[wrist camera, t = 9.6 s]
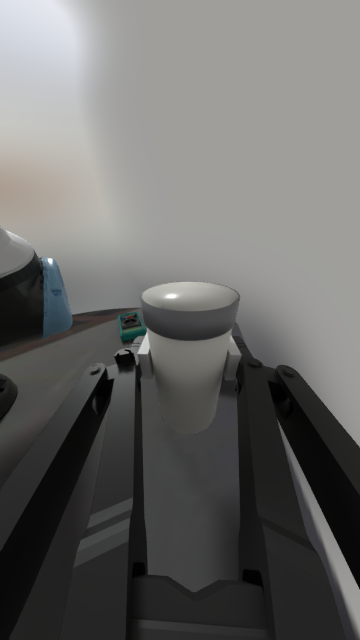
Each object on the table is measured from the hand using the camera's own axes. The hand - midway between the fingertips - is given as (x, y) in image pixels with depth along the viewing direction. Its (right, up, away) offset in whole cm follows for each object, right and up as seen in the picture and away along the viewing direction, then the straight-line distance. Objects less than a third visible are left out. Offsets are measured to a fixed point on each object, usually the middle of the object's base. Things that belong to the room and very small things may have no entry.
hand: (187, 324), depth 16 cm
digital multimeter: (-17, -3, +30) cm, 34 cm away
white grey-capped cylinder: (0, -8, -1) cm, 8 cm away
